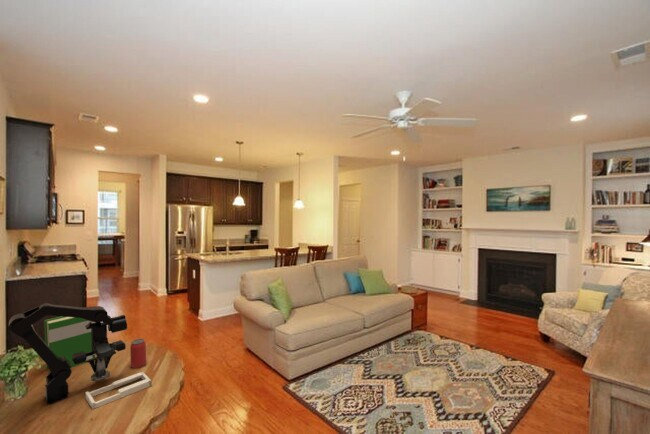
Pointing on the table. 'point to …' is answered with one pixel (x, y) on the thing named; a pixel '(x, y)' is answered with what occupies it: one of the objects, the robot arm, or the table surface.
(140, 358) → the beer can
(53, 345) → the hardback book
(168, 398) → the table surface
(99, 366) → the dark grey rounded piece
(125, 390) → the keyhole dock
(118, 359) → the table surface
